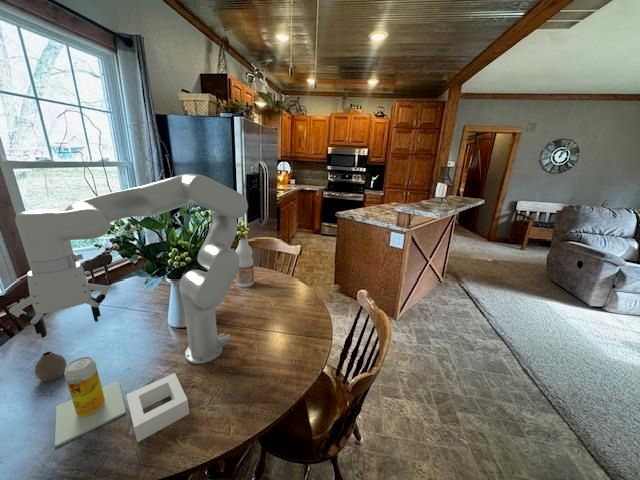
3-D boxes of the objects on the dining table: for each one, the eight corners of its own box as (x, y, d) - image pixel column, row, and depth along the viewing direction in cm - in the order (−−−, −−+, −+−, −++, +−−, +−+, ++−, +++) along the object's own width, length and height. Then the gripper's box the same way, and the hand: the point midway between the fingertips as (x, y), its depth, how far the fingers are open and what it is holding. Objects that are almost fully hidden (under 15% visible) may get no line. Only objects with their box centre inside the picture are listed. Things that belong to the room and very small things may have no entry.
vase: (74, 368, 87) (68, 346, 85) (55, 385, 81) (47, 362, 78) (52, 368, 87) (45, 346, 84) (31, 385, 80) (23, 361, 78)
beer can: (71, 421, 70) (57, 374, 66) (84, 401, 75) (71, 357, 71) (99, 415, 72) (86, 370, 67) (109, 397, 77) (98, 354, 73)
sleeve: (176, 385, 82) (174, 372, 81) (189, 413, 74) (187, 399, 72) (129, 408, 75) (126, 394, 73) (137, 442, 66) (133, 427, 65)
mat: (119, 381, 83) (118, 380, 83) (125, 413, 73) (125, 411, 73) (56, 407, 74) (56, 405, 74) (55, 447, 64) (54, 445, 64)
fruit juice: (233, 283, 150) (230, 235, 142) (248, 278, 156) (246, 233, 148) (242, 289, 144) (239, 240, 135) (257, 284, 150) (255, 236, 142)
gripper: (99, 251, 70) (112, 308, 75) (-1, 267, 58) (22, 333, 64) (102, 259, 65) (116, 320, 70) (-7, 279, 53) (18, 350, 58)
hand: (71, 326), depth 67 cm, fingers open, 9 cm apart
